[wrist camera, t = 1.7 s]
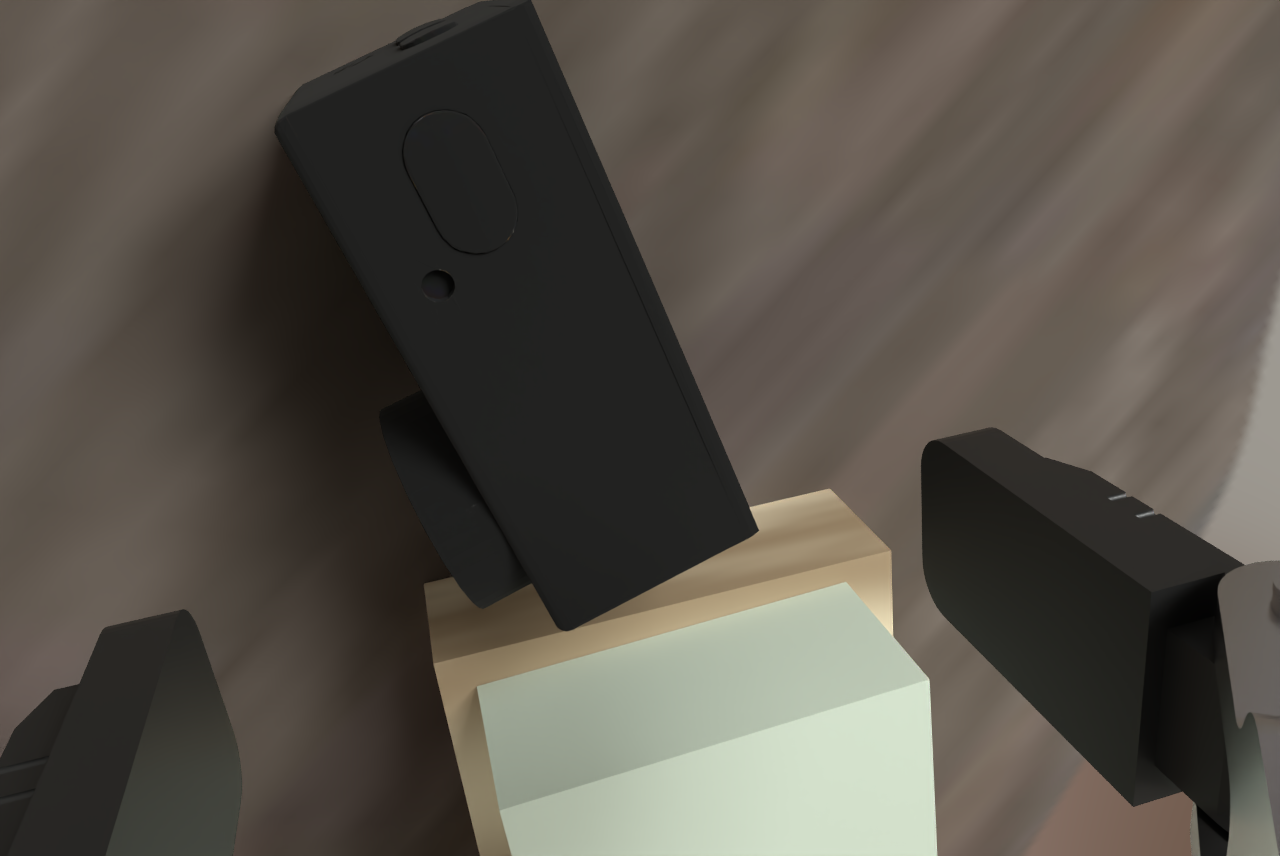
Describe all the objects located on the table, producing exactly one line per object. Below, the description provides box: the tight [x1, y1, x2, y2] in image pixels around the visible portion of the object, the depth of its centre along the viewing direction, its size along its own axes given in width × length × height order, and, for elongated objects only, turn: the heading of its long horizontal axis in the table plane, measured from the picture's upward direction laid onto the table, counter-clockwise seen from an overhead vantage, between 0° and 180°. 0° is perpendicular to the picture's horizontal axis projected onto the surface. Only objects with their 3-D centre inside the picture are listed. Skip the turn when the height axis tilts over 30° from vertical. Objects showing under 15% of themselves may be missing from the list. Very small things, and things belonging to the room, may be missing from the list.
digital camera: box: [275, 0, 759, 632], centre depth 20 cm, size 10×5×7 cm, turn 23°
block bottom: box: [424, 489, 893, 856], centre depth 28 cm, size 13×11×4 cm
